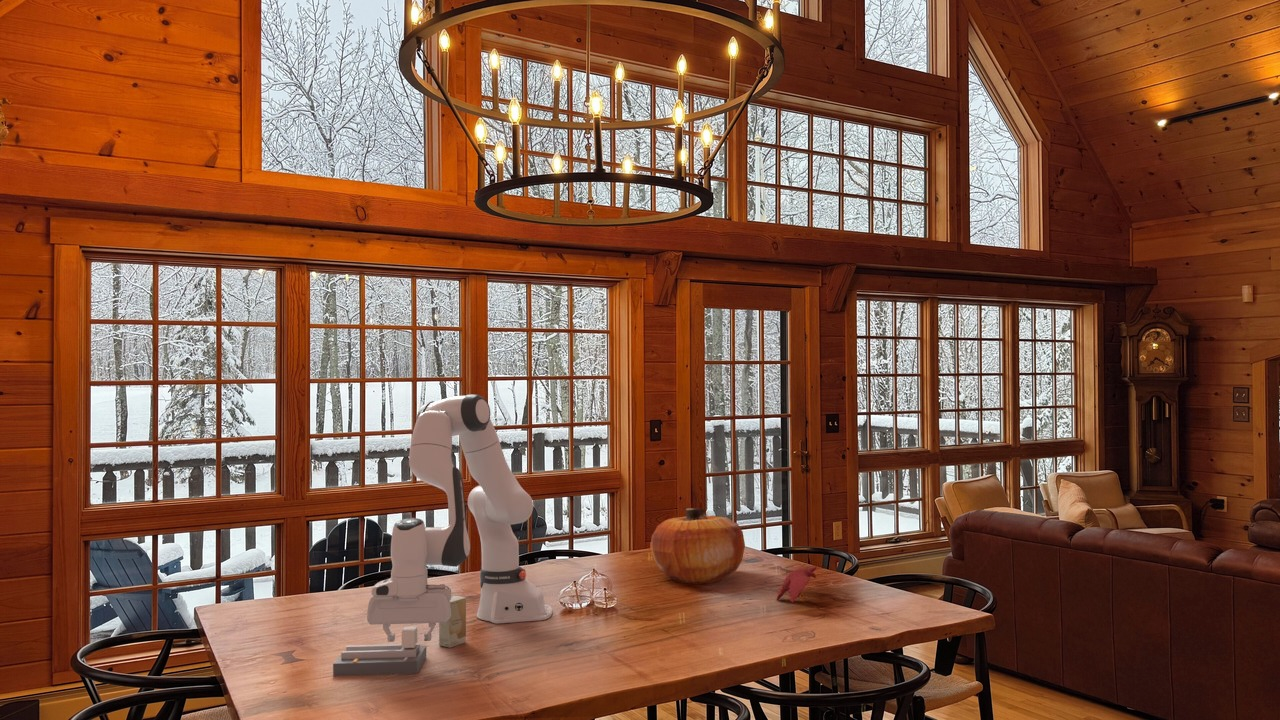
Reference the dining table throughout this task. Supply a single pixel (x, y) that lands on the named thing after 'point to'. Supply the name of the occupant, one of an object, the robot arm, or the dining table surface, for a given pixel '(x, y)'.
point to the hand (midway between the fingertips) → (409, 640)
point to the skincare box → (454, 624)
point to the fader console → (379, 660)
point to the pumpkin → (698, 547)
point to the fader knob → (409, 638)
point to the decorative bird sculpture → (796, 583)
